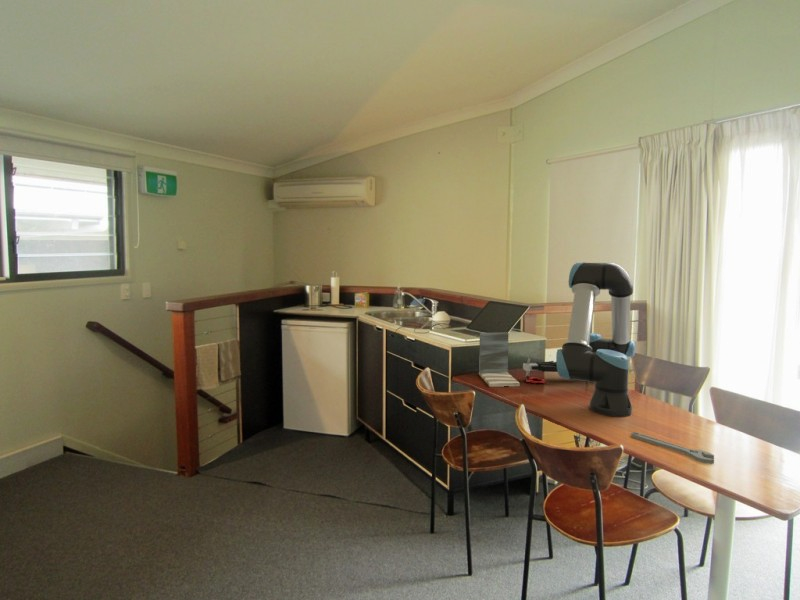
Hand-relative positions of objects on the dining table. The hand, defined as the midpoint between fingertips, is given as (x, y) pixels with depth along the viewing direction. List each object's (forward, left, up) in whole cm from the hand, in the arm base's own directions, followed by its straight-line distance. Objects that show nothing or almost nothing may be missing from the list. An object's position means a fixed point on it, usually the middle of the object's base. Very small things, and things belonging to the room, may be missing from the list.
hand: (523, 367), depth 225 cm
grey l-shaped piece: (+3, +11, -7) cm, 14 cm away
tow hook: (-1, -6, -7) cm, 9 cm away
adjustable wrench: (-79, -22, -8) cm, 82 cm away
